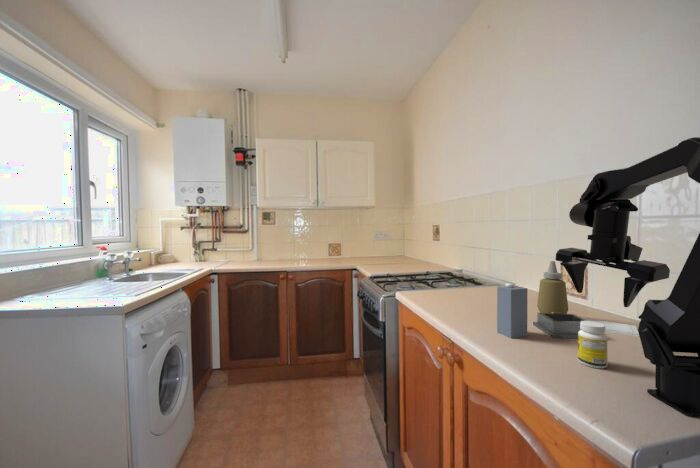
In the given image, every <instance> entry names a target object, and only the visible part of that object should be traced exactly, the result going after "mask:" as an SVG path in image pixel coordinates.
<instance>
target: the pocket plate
mask: <svg viewBox="0 0 700 468" xmlns="http://www.w3.org/2000/svg"><path fill="white" fill-rule="evenodd" d="M584 318H585V317H581V316H579V315H577V314H574V313H567V314H563V313H560V312H552V313H540V312H537V319H536V320H537V321H532V325H533V326H535V327H536V328H538V330H540V331H542V332H543V333H544V334H546V335H548V336H549V337H551V338H554V339H577V340H578V332H579V331H580V330H581V329H580V322H581V321H588V320H586V319H584Z"/></svg>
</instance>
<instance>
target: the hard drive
mask: <svg viewBox="0 0 700 468" xmlns="http://www.w3.org/2000/svg"><path fill="white" fill-rule="evenodd" d="M583 318H584V319H586V320H588V321H593V322H598V323H601V324H603V325H605V333H613V334H618V335H625V336H629V337H630V336H631V337H637V338H640V336H639V332H638V327H637V325H633V324H632V325H631V324H628V323H627V324H626V323H619V322H612V321H606V320H600V319H593V318H586V317H583Z"/></svg>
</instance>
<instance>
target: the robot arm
mask: <svg viewBox="0 0 700 468" xmlns="http://www.w3.org/2000/svg"><path fill="white" fill-rule="evenodd" d="M686 173H687V176H688V177H689V179H691V180H693V181H695V182H696V183H697V184H700V136H696V137H689V138H688V139H684V140H682V141H681V142H679V143H678V144H677V145H675V146H674V147H673V146H672V147H670V148H668V149H666V150H664V151H662V152H660V153H657V154H656V155H653V156H651V157H649V158H646V159H644V160H641V161H639V162H637V163H635V164H633V165H631V166H629V167H625V168H618V169H611V170H606V171H603V172H598V173H597V174H595V175H594V176H593V178H592V179H591V180H590V182H589V184H588V186H587V187H586V189H585V191H584V192H583V193H582V194H581V195H580V198H579V202H578V203H576V204H574V205H573V206H572V207H571V209H570V210H569V215H568V216H569V220H570V221H571V222H572V223H574V224H576V225H580V226H584V227H588V228H592V229H591V234H588V235H587V240H588V241H590V251H589V252H588V251H587V249H583V248H577V247H576V248H575V247H567V248H559V249H558V250H557V251H556V253H555V259H554V260H555V262H560V263H559V265H560V266H563V267H564V269H565V270H566V272H567V274H568V276H569V277H570V280H571V281H572V283H573V286H574V287H575V290H576V292H577V293H578V294H581V293H583V290H584V284H585V283H584V282H585V271H586V269H587V267H588V265H589V264H592V265H597V266H601V267H607V268H611V269H612V268H613V269H617V270H620V271H626V273H627V274H628V276H626V277H624V281H623V283H624V284H623V300H622V301H623V307H624V308H629V307H630V306H631V305H632V303H633V302H634V300H635V299H636V298H637V296H638V295H639V293H640V292H641V290H643V288H644V287H645V286H646V285H648V284H650V283H653V282H658V281H662V280H666V279H670V271H671V269H670V268H669V266H668V265H667V264H666V263H662V262H656V261H652V260H651V261H650V260H645V259H644V260H640V257H641V254H642V252H643V247H640V246H638V244H637V245H636V244H634V243H632V239H631V235H628V231H629V230H628V229H629V221H630V212H638V211H639V207H637V205H635V204H634V203H632V201H631V200H632V199H634V198H637V197H638V196H639V195H641V194H643V193H645V192H646V191H647V188H648V187H650V186H652V185H654V184H657V183H658V184H659V183H660V182H663V181H666V180H670V179H673V178H676V177H678V176H681V175H683V174H686ZM630 261H631V262H630ZM673 285H674V286H673V288H672V289H671V292H670V294H669V296H668V297H666V299H647V301H646V302H645V304H644V307H643V309H642V313H641V314H640V315H638V319H640V321H639V323H638V327H637V330H638V332H639V339H640V343H641V347H642V351H643V355H644V357H645V359H646V360H649V363H650V364H652V365H655V381H654V382H655V384H654V385H655V389H654V388H653V389H652V388H648V389H646V393H648V394H650V395H651V396H653V398H654V397H655V398H656V399H658V400H660V401H661V402H663V403H665V404H667V405H668V406H670V407H672V408H673V409H676V410H677V411H678V412H681V413H682V414H684V415H686V416H690V417H691V416H692V417H697V416H698V417H700V232H699V233H698V235H697V237H696V239H695V242H694V244H693V246H692V248H691V250H690V252H689V254H688V256H687V257H686V261H685V263H684V265H683V267H682V269H681V271H680V273H679V275H678V277H677V279H676V281H675V282H674V284H673ZM674 353H686V354H697V356H696V355H694V356H690V355H678V354H677V355H675V354H674Z"/></svg>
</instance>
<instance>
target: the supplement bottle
mask: <svg viewBox="0 0 700 468" xmlns="http://www.w3.org/2000/svg"><path fill="white" fill-rule="evenodd" d="M580 329H581V330H580V331H579V332H578V339H577V358H578V359H577V361H578V362H579V363H580V364H581V365H584V366H587V367H589V368H592V369H593V368H595V369H606V368H607V367H608V338H609V337H608V336H607V335H606V332H605V325H603V324H601V323H598V322H593V321H581V322H580Z"/></svg>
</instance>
